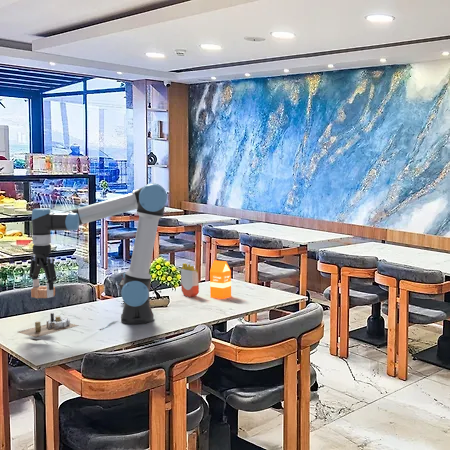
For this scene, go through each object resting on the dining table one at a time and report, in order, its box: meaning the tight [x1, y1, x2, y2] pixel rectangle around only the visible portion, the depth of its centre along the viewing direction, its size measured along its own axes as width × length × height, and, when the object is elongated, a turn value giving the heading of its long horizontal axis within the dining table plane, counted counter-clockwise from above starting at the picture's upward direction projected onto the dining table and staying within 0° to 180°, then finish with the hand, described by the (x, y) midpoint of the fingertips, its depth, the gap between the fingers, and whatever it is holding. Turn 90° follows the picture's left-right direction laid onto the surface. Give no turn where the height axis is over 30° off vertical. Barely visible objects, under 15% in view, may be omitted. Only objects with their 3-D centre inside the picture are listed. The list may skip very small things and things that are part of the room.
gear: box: [46, 312, 71, 329], centre depth 255 cm, size 10×10×6 cm
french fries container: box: [180, 263, 200, 298], centre depth 319 cm, size 5×11×18 cm, turn 39°
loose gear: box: [30, 285, 56, 299], centre depth 249 cm, size 10×10×4 cm
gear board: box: [17, 316, 79, 342], centre depth 251 cm, size 14×22×6 cm, turn 143°
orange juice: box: [209, 259, 232, 300], centre depth 315 cm, size 8×9×20 cm
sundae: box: [117, 277, 124, 302], centre depth 305 cm, size 7×7×15 cm
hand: (43, 295), depth 250 cm, fingers closed on loose gear, 10 cm apart
